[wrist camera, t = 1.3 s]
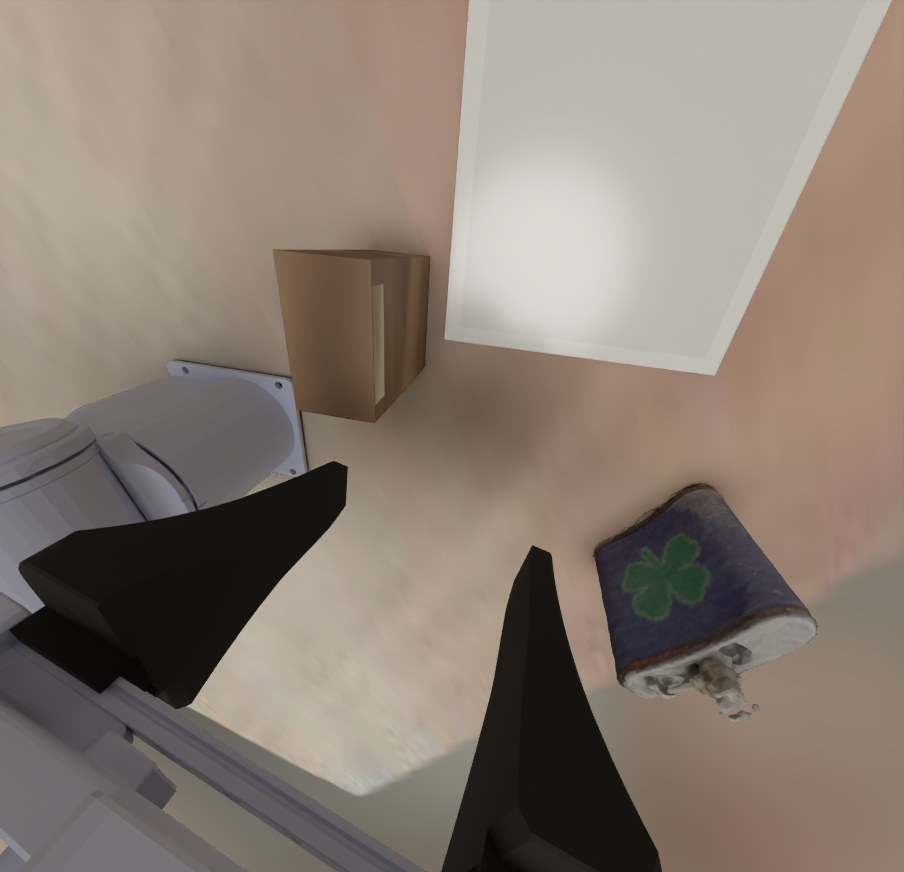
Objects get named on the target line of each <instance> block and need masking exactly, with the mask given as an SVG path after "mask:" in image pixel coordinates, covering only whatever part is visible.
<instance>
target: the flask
mask: <svg viewBox="0 0 904 872" xmlns="http://www.w3.org/2000/svg"><path fill="white" fill-rule="evenodd" d="M670 498H672V499H671V500H669V501H668V502H667V503H664V504H663V505H661V507H657V508H656V509H652V510H651V511H649V512H648V513H644V515H643V516H641V517H639V519H638V520H637V522H636V524H635V526H632V527H631V528H624V530H623V531H622V532H621V534H619V535H618V536H613V537H612V536H611V538H609V539H608V540H607V541H604V542H603V543H601V544H598V545H597V546H596V548H595V551H594V555H593V557H595V561H596V566H597V572H598V576H599V582H600V587H601V591H602V599H603V604H604V608H605V612H606V616H607V622H608V630H609V633H610V641H611V647H612V652H613V655H614V658H615V667H616V672H617V680H618V681H619V683H620V685H622V686H623V687H624V688H626V689H628V690H630V692H632V693H635V694H637V695H639V696H641V697H645V698H653V697H657V696H662V697H663V698H664V699H668V698H672V697H675V696H677V694H670V693H674V692H679V691H686V690H692V689H695V690H697V691H698V692H700V693H702V694H706V695H708V696H710V697H712V698H714V699H716V700H717V702H716V703H717V704H718V705H719V707H720V709H721V712H720V714H727V713H730V712H731V711H733V710H734V709H740V708H742V707H744V706H747V701H746V700H745V698H744V694H743V692H742V691H741V688H740V686H741V684H742V682H743V681H744V679H743V678H741V677H740V676H739V674H741V673H742V672H744V671H747V670H749V669H752V668H754V667H757V666H759V665H762V664H764V663H766V662H768V661H770V660H773V659H775V658H777V657H779V656H781V655H783V654H785V653H787V652H790V651H792V650H794V649H796V648H798V647H799V646H802V645H804V644H806V643H808V642H809V641H811V640H812V639H813V638H814V637H815V636H816V635H817V633H816V631H817V627H818V626H817V623H816V620H815V619H814V618H813V617H812V616H811V614H810V612H809V611H808V609H807V608H806V607H805V605H804V604H803V603H802V602H801V600H800V599H799V598H798V597H797V595H796V594H795V593H794V592H793V591H792V589H791V588H790V587H789V586H788V584H787V583H786V582H785V580H784V579H783V577H782V576H781V575H780V573H779V572H778V571H777V570H776V568H775V567H774V566H773V564H772V563H771V562H770V560H769V559H768V558H767V557H766V555H765V554H764V553H763V551H762V550H761V549H760V547H759V546H758V545H757V544H756V543H755V541H754V540H753V539H752V537H751V536H750V534H749V533H748V532H747V530H746V529H745V528H744V526H743V525H742V524H741V523H740V521H739V520H738V519H737V517H736V516H735V514H734V513H733V512H732V511H731V509H730V508H729V506H728V505H727V504H726V503H725V501H724V500H723V498H722V497H721V495H720V494H719V493H718V492H717V491H715V490H714V489H712V488H710V487H708V486H706V485H703V484H700V485H698V486H694V487H691V488H688V489H684V490H682V491H680V492H678V493H676V494H674V495H672V496H671V497H670ZM752 708H753V710H754V711H760V709H759V706H758V705H756V704H753V706H752ZM750 717H751V713H747V712H745V711H742V710H741V711H740V712H738V713H737V714H735V715H730V716H728V718H729V720H730V721H731V722H739V721H743V720H748V719H749V718H750Z"/></svg>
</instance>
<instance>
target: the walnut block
mask: <svg viewBox="0 0 904 872" xmlns="http://www.w3.org/2000/svg"><path fill="white" fill-rule="evenodd" d="M273 254H274V261H275V268H276V275H277V282H278V289H279V295H280V302H281V309H282V316H283V323H284V329H285V336H286V343H287V350H288V357H289V364H290V370H291V377H292V384H293V391H294V398H295V404H296V410H299V411H305V412H311V413H317V414H323V415H329V416H335V417H341V418H347V419H353V420H359V421H365V422H370V423H376V421H377V420H378V419H379V418H380V417H381V416H382V415H383V414H384V412H385V411H386V410H387V409H388V408H389V407H390V406H391V404H392V403H393V402H394V401H395V400H396V399H397V398H398V397H399V395H400V394H401V393H402V392H403V391H404V390H405V389H406V387H407V386H408V385H409V384H410V383H411V382H412V381H413V380H414V378H415V377H416V376H417V375H418V374H419V373H420V372H421V371H422V369H423V368H424V367H425V355H426V334H427V313H428V292H429V272H430V256H422V255H412V254H402V253H393V252H383V251H373V250H273Z"/></svg>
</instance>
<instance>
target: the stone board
mask: <svg viewBox="0 0 904 872" xmlns="http://www.w3.org/2000/svg"><path fill="white" fill-rule="evenodd" d="M891 1H892V0H469V11H468V25H467V38H466V52H465V66H464V79H463V93H462V107H461V120H460V134H459V147H458V161H457V175H456V188H455V202H454V216H453V229H452V243H451V257H450V270H449V284H448V297H447V311H446V325H445V338H444V339H445V340H452V341H460V342H467V343H475V344H482V345H490V346H497V347H505V348H512V349H520V350H527V351H535V352H542V353H550V354H557V355H565V356H572V357H580V358H587V359H595V360H602V361H610V362H617V363H625V364H632V365H640V366H647V367H655V368H662V369H670V370H677V371H685V372H692V373H700V374H707V375H715V374H716V371H717V369H718V367H719V365H720V363H721V361H722V359H723V357H724V354H725V352H726V350H727V348H728V346H729V344H730V342H731V340H732V338H733V335H734V333H735V331H736V329H737V327H738V325H739V323H740V321H741V319H742V316H743V314H744V312H745V310H746V308H747V306H748V304H749V302H750V299H751V297H752V295H753V293H754V291H755V289H756V287H757V285H758V283H759V280H760V278H761V276H762V274H763V272H764V270H765V268H766V266H767V264H768V261H769V259H770V257H771V255H772V253H773V251H774V249H775V247H776V244H777V242H778V240H779V238H780V236H781V234H782V232H783V230H784V228H785V225H786V223H787V221H788V219H789V217H790V215H791V213H792V211H793V209H794V206H795V204H796V202H797V200H798V198H799V196H800V194H801V192H802V189H803V187H804V185H805V183H806V181H807V179H808V177H809V175H810V173H811V170H812V168H813V166H814V164H815V162H816V160H817V158H818V156H819V154H820V151H821V149H822V147H823V145H824V143H825V141H826V139H827V137H828V134H829V132H830V130H831V128H832V126H833V124H834V122H835V120H836V118H837V115H838V113H839V111H840V109H841V107H842V105H843V103H844V101H845V99H846V96H847V94H848V92H849V90H850V88H851V86H852V84H853V82H854V79H855V77H856V75H857V73H858V71H859V69H860V67H861V65H862V63H863V60H864V58H865V56H866V54H867V52H868V50H869V48H870V46H871V44H872V41H873V39H874V37H875V35H876V33H877V31H878V29H879V27H880V24H881V22H882V20H883V18H884V16H885V14H886V12H887V10H888V8H889V5H890V3H891Z"/></svg>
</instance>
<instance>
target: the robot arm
mask: <svg viewBox="0 0 904 872" xmlns="http://www.w3.org/2000/svg"><path fill="white" fill-rule="evenodd" d="M167 368H168V371H169V374H170V376H167V377H164V378H162V379H159V380H156V381H153V382H150V383H147V384H144V385H142V386H139V387H136V388H133V389H130V390H127V391H124V392H122V393H119V394H116V395H113V396H110V397H107V398H104V399H102V400H99V401H96V402H93V403H90V404H87V405H85V406H83V407H81V408H79V409H77V410H75V411H74V412H72V413H71V414H70V415H68V416H67V417H66V418H65V419H60V418H49V419H41V420H35V421H29V422H24V423H19V424H15V425H10V426H6V427H2V428H0V838H1V839H2V840H3V841H4V842H5V843H6V844H7V845H8V847H7V848H6V849H5V850H4V852H3V853H2V854H1V855H0V872H249V871H248V870H246V869H245V868H243V867H242V866H241V865H239V864H238V863H237V862H235V861H234V860H232V859H231V858H230V857H228V856H227V855H225V854H224V853H223V852H221V851H220V850H218V849H217V848H216V847H214V846H213V845H211V844H210V843H209V842H207V841H206V840H204V839H203V838H202V837H200V836H199V835H197V834H196V833H194V832H193V831H192V830H190V829H189V828H187V827H186V826H185V825H183V824H182V823H180V822H179V821H178V820H176V819H175V818H173V817H172V816H170V815H169V814H168V813H166V812H165V811H163V810H162V809H163V808H164V806H165V805H166V804H167V802H168V801H169V800H170V798H171V797H172V796H173V795H174V793H175V792H176V787H177V786H176V785H175V784H174V783H173V782H172V781H170V780H169V779H168V778H167V777H166V776H165V775H164V774H163V773H162V772H161V771H160V769H158V767H157V765H156V763H155V762H154V761H153V760H151V759H150V758H149V757H147V756H146V755H145V754H143V753H142V752H141V751H139V750H138V749H137V748H136V747H134V746H133V745H132V743H133V734H134V735H135V736H137V737H138V738H140V739H141V740H142V741H144V742H146V743H147V744H148V745H150V746H151V747H153V748H155V749H156V750H157V751H159V752H160V753H162V754H163V755H165V756H166V757H168V758H169V759H171V760H172V761H174V762H175V763H177V764H178V765H180V766H181V767H183V768H184V769H186V770H187V771H189V772H190V773H192V774H193V775H195V776H196V777H198V778H199V779H201V780H202V781H204V782H205V783H207V784H208V785H210V786H211V787H213V788H214V789H215V790H217V791H218V792H220V793H221V794H223V795H225V796H226V797H227V798H229V799H230V800H232V801H233V802H235V803H237V804H238V805H239V806H241V807H242V808H244V809H245V810H247V811H248V812H250V813H251V814H253V815H254V816H256V817H257V818H259V819H260V820H262V821H263V822H265V823H266V824H268V825H269V826H271V827H272V828H274V829H275V830H277V831H278V832H280V833H281V834H283V835H284V836H286V837H287V838H289V839H290V840H291V841H293V842H294V843H296V844H298V845H299V846H301V847H302V848H303V849H305V850H306V851H308V852H309V853H311V854H312V855H314V856H315V857H317V858H318V859H320V860H321V861H323V862H324V863H326V864H327V865H329V866H330V867H332V868H333V869H335V870H336V871H338V872H427V871H425V870H423V869H422V868H420V867H419V866H417V865H416V864H414V863H413V862H411V861H409V860H408V859H406V858H405V857H403V856H402V855H400V854H398V853H397V852H395V851H394V850H392V849H391V848H389V847H387V846H386V845H384V844H383V843H381V842H379V841H378V840H376V839H375V838H373V837H372V836H370V835H368V834H367V833H365V832H364V831H362V830H361V829H359V828H358V827H356V826H354V825H353V824H351V823H350V822H348V821H347V820H345V819H343V818H342V817H340V816H339V815H337V814H336V813H334V812H332V811H331V810H329V809H328V808H326V807H325V806H323V805H321V804H320V803H318V802H317V801H315V800H314V799H312V798H310V797H309V796H307V795H306V794H304V793H303V792H301V791H299V790H298V789H296V788H295V787H293V786H291V785H290V784H288V783H287V782H285V781H284V780H282V779H281V778H279V777H277V776H276V775H274V774H273V773H271V772H270V771H268V770H267V769H265V768H263V767H261V766H260V765H259V764H257V763H256V762H254V761H252V760H251V759H249V758H248V757H246V756H245V755H242V754H241V753H240V752H238V751H237V750H235V749H234V748H232V747H230V746H229V745H227V744H226V743H224V742H223V741H221V740H219V739H218V738H216V737H215V736H213V735H212V734H210V733H208V732H207V731H205V730H204V729H202V728H201V727H199V726H197V725H196V724H194V723H193V722H191V721H189V720H188V719H186V718H185V717H183V716H182V715H180V714H179V713H177V712H175V711H173V710H172V709H171V708H169V707H167V706H166V705H164V704H163V703H161V702H160V701H158V700H156V699H155V698H153V697H152V696H150V695H149V694H147V693H146V691H147V692H148V693H150V694H151V695H153V696H155V697H158V698H160V699H161V700H163V701H164V702H166V703H167V704H169V705H170V706H172V707H173V708H175V709H179V708H182V707H185V706H187V705H189V704H191V703H192V702H193V701H194V699H195V697H196V696H197V694H198V693H199V691H200V690H201V688H202V687H203V685H204V684H205V682H206V681H207V679H208V678H209V676H210V675H211V673H212V672H213V670H214V669H215V667H216V666H217V664H218V663H219V661H220V660H221V659H222V657H223V656H224V654H225V653H226V651H227V650H228V649H229V647H230V646H231V644H232V643H233V642H234V640H235V639H236V637H237V636H238V635H239V633H240V632H241V630H242V629H243V628H244V626H245V625H246V624H247V622H248V621H249V620H250V618H251V617H252V616H253V614H254V613H255V612H256V610H257V609H258V608H259V606H260V605H261V604H262V603H263V601H264V600H265V599H266V597H267V596H268V595H269V594H270V592H271V591H272V590H273V589H274V587H275V586H276V585H277V583H278V582H279V581H280V580H281V579H282V578H283V577H284V575H285V574H286V573H287V572H288V571H289V570H290V569H291V568H292V567H293V566H294V565H295V564H296V563H297V562H298V560H299V559H300V558H301V557H302V556H303V555H304V554H305V553H306V552H307V551H308V550H309V549H310V548H311V547H312V546H313V545H314V544H315V543H316V542H317V540H318V539H319V538H320V537H321V536H322V535H323V534H324V533H325V532H326V531H327V530H328V529H329V528H330V526H331V525H332V524H333V522H334V521H335V520H336V518H337V517H338V516H339V514H340V513H341V511H342V510H343V508H344V507H345V506H346V489H347V470H348V467H347V466H345V465H342V464H340V463H338V462H335V461H332V462H330V463H327V464H325V465H323V466H320V467H318V468H316V469H314V470H311V471H309V472H308V470H307V463H306V456H305V449H304V442H303V435H302V428H301V421H300V414H299V410H296V404H295V398H294V391H293V384H292V380H291V379H290V378H287V377H280V376H274V375H268V374H261V373H255V372H249V371H242V370H236V369H229V368H223V367H217V366H210V365H204V364H197V363H191V362H185V361H178V360H172V361H169V362H168V363H167ZM187 368H188V369H187ZM279 382H280V383H281V384H282V387H281V386H280V385H279ZM293 469H294V470H295V471H294V470H293ZM271 473H278V474H283V475H288V476H293V477H295V478H293V479H290V480H288V481H285V482H283V483H280V484H278V485H276V486H273V487H270V488H267V489H265V490H262V491H259V492H257V493H254V494H251V495H249V496H246V497H244V496H245V495H246V494H247V493H249V492H250V491H251V490H252V489H253V488H254V487H256V486H257V485H258V484H259V483H260V482H261V481H262V480H264V479H265V478H266V477H267V476H268V475H269V474H271ZM441 872H662V869H661V864H660V859H659V854H658V851H657V849H656V847H655V845H654V843H653V841H652V840H651V838H650V836H649V834H648V832H647V830H646V828H645V826H644V824H643V822H642V820H641V818H640V816H639V814H638V812H637V810H636V808H635V806H634V804H633V802H632V800H631V798H630V796H629V794H628V792H627V790H626V788H625V786H624V784H623V781H622V780H621V777H620V775H619V773H618V771H617V769H616V767H615V765H614V762H613V760H612V758H611V756H610V753H609V751H608V749H607V746H606V744H605V742H604V739H603V737H602V734H601V732H600V730H599V727H598V725H597V723H596V720H595V718H594V716H593V713H592V711H591V708H590V705H589V703H588V700H587V697H586V695H585V692H584V689H583V686H582V683H581V681H580V678H579V675H578V672H577V669H576V666H575V663H574V659H573V656H572V653H571V649H570V646H569V642H568V638H567V635H566V631H565V627H564V623H563V619H562V614H561V610H560V605H559V601H558V596H557V590H556V585H555V579H554V572H553V563H552V556H551V554H550V553H549V552H547V551H545V550H542V549H540V548H538V547H535V546H533V545H532V547H531V549H530V551H529V553H528V555H527V557H526V559H525V561H524V563H523V565H522V567H521V568H520V570H519V572H518V574H517V576H516V578H515V580H514V583H513V586H512V590H511V593H510V597H509V600H508V604H507V608H506V612H505V618H504V623H503V629H502V635H501V641H500V647H499V653H498V659H497V665H496V670H495V676H494V681H493V686H492V691H491V695H490V699H489V703H488V707H487V711H486V714H485V718H484V722H483V726H482V730H481V733H480V737H479V741H478V745H477V748H476V752H475V756H474V759H473V763H472V767H471V770H470V774H469V777H468V781H467V785H466V788H465V792H464V795H463V799H462V802H461V806H460V809H459V813H458V816H457V819H456V823H455V827H454V830H453V833H452V837H451V840H450V844H449V847H448V851H447V854H446V857H445V860H444V864H443V867H442V871H441Z"/></svg>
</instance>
